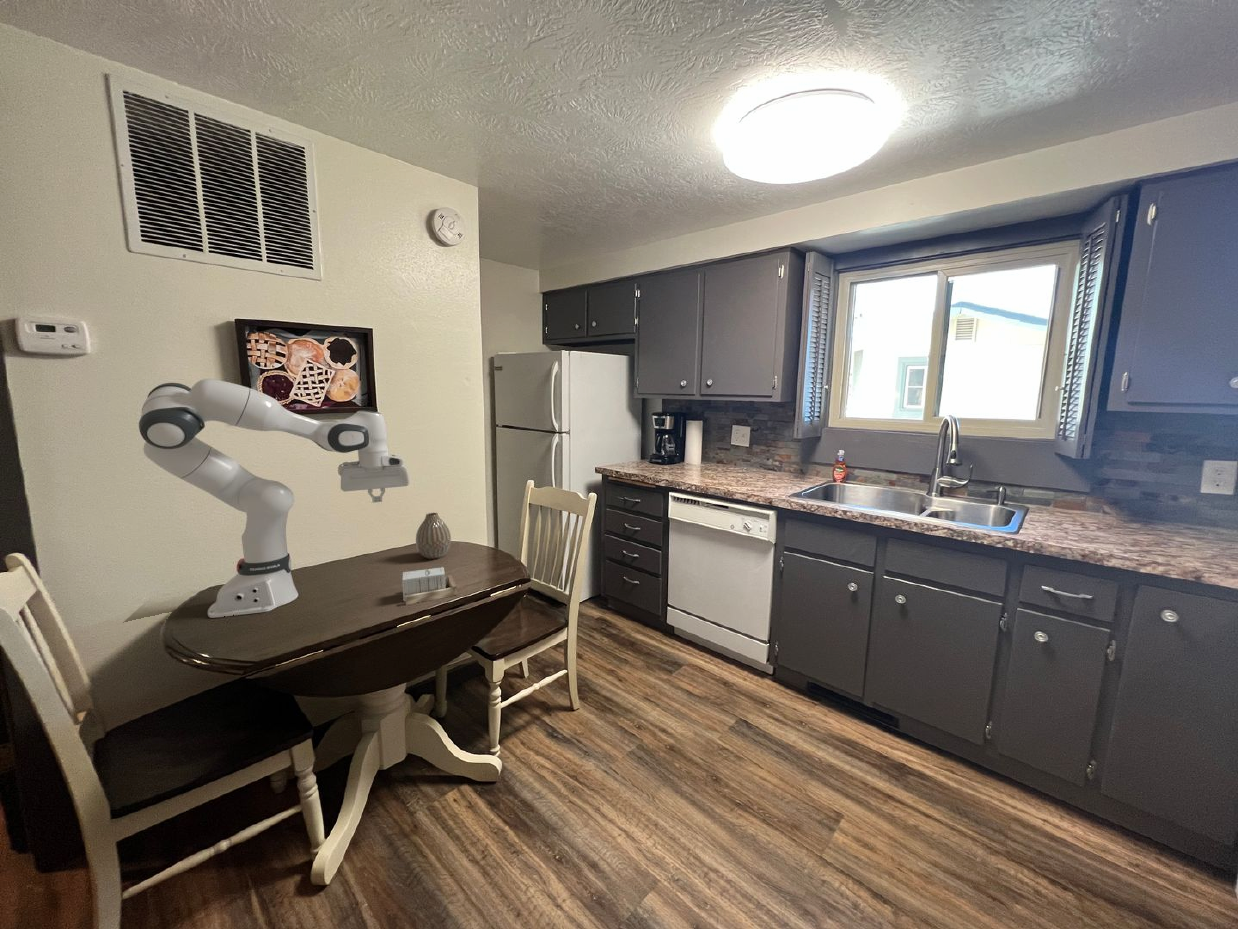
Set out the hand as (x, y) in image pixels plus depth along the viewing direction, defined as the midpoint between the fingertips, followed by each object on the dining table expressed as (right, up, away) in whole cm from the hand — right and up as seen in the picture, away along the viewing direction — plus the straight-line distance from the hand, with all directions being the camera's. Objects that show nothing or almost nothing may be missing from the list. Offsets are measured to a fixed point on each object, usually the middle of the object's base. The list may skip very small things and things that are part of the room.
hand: (377, 502), depth 161 cm
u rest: (+18, -30, -3) cm, 35 cm away
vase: (+6, -25, +35) cm, 43 cm away
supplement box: (+11, -26, -6) cm, 29 cm away
